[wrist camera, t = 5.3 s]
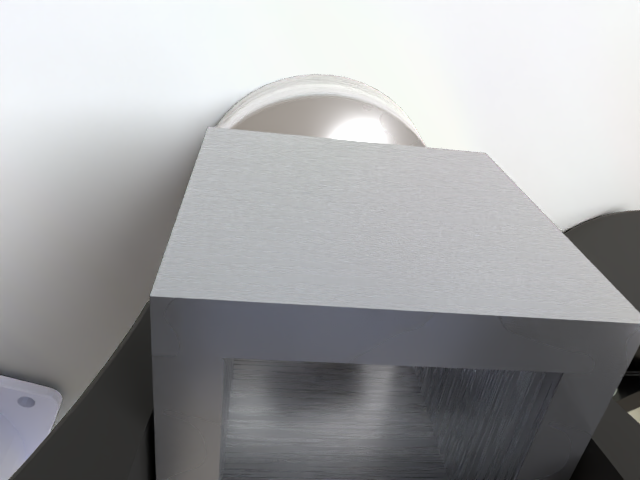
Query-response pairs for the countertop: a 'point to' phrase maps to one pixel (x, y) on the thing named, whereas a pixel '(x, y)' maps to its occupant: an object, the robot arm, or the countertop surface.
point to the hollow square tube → (374, 319)
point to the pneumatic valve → (617, 279)
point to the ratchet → (323, 111)
